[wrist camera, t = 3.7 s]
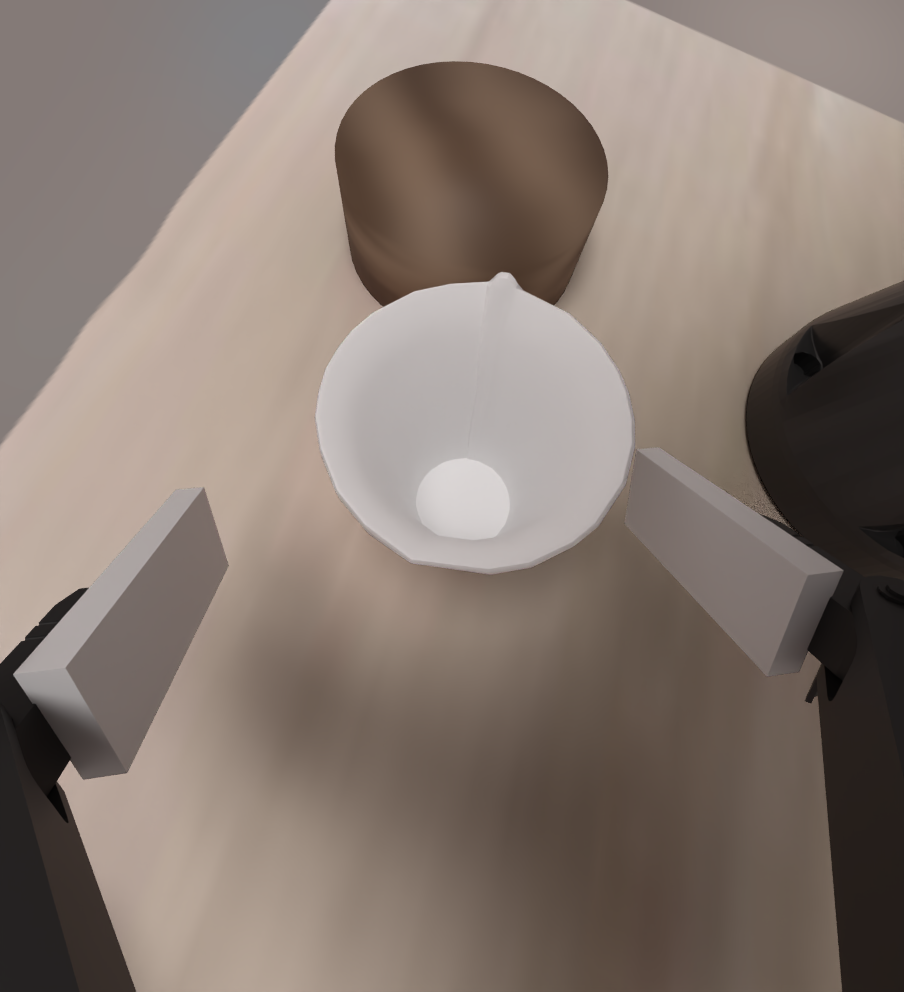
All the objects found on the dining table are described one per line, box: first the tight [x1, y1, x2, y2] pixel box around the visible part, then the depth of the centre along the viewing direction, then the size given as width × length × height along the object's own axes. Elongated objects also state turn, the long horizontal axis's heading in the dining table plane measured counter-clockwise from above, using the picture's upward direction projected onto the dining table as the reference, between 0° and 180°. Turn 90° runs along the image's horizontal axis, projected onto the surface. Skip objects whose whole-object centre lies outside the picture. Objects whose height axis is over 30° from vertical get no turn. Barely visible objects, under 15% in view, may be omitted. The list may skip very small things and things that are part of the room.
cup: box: [315, 272, 635, 575], centre depth 17 cm, size 9×9×10 cm
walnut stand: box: [335, 61, 608, 307], centre depth 24 cm, size 13×13×5 cm
